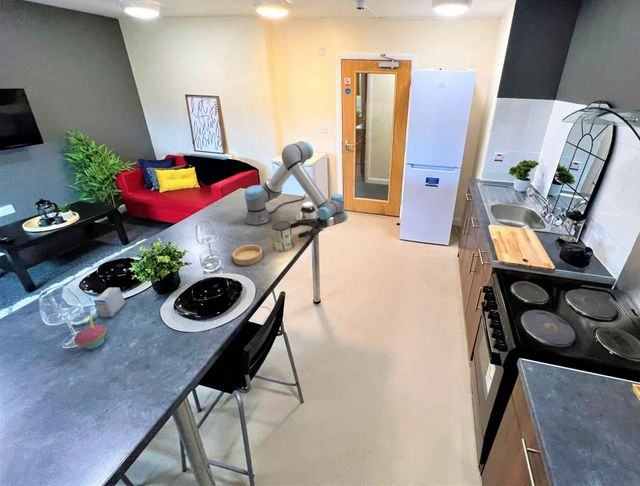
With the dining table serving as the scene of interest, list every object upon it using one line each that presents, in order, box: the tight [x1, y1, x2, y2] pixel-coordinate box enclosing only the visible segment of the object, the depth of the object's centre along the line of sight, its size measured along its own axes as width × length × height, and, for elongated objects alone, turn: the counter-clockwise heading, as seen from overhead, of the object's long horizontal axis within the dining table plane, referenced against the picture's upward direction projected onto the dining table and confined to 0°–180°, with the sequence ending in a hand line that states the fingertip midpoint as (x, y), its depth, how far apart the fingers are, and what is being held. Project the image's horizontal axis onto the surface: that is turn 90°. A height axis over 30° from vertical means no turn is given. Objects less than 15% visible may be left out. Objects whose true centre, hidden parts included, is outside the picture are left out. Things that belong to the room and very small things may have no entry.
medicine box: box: [93, 287, 126, 318], centre depth 116 cm, size 8×4×9 cm, turn 5°
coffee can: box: [271, 220, 294, 252], centre depth 163 cm, size 10×10×14 cm
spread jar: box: [295, 201, 317, 221], centre depth 196 cm, size 12×11×12 cm
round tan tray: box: [231, 244, 263, 266], centre depth 155 cm, size 15×15×4 cm
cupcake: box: [73, 314, 108, 350], centre depth 101 cm, size 9×8×12 cm
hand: (293, 231), depth 167 cm, fingers open, 13 cm apart
